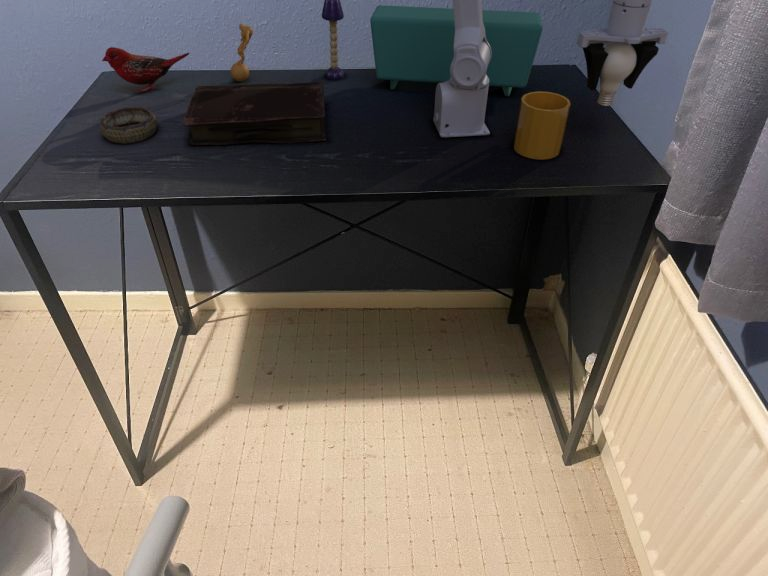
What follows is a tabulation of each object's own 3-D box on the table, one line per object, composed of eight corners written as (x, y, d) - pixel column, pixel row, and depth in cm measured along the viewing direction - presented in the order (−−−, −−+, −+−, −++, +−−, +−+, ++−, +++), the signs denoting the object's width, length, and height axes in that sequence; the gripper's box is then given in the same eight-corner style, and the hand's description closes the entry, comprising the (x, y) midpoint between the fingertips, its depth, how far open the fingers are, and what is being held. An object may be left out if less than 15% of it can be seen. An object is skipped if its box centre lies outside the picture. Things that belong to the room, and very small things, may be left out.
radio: (527, 82, 128) (540, 10, 118) (530, 101, 121) (543, 25, 111) (377, 73, 132) (377, 2, 122) (370, 91, 124) (369, 17, 114)
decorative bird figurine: (111, 96, 121) (96, 47, 115) (193, 79, 128) (183, 32, 122) (115, 101, 119) (100, 51, 113) (197, 83, 127) (188, 36, 120)
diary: (201, 107, 117) (196, 82, 114) (324, 102, 119) (322, 78, 116) (187, 149, 103) (181, 123, 100) (326, 144, 105) (325, 118, 102)
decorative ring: (165, 121, 112) (113, 121, 112) (161, 105, 110) (108, 105, 110) (150, 145, 104) (95, 146, 104) (145, 128, 102) (89, 129, 102)
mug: (568, 156, 102) (579, 107, 96) (527, 162, 100) (536, 113, 95) (538, 129, 110) (547, 83, 104) (499, 135, 108) (506, 88, 102)
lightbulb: (625, 115, 99) (644, 49, 92) (587, 112, 100) (603, 46, 93) (620, 100, 104) (638, 37, 96) (584, 97, 105) (599, 34, 97)
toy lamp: (349, 75, 131) (347, -4, 120) (338, 82, 128) (334, 1, 117) (332, 71, 133) (328, -8, 122) (320, 77, 130) (315, -3, 119)
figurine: (232, 74, 131) (222, 18, 123) (258, 73, 132) (251, 17, 124) (232, 88, 125) (222, 30, 117) (260, 86, 125) (252, 29, 118)
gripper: (598, 11, 87) (578, 98, 96) (688, 8, 88) (659, 94, 97) (580, -2, 92) (562, 82, 101) (665, -4, 94) (640, 78, 103)
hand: (609, 87), depth 99 cm, fingers closed on lightbulb, 6 cm apart
